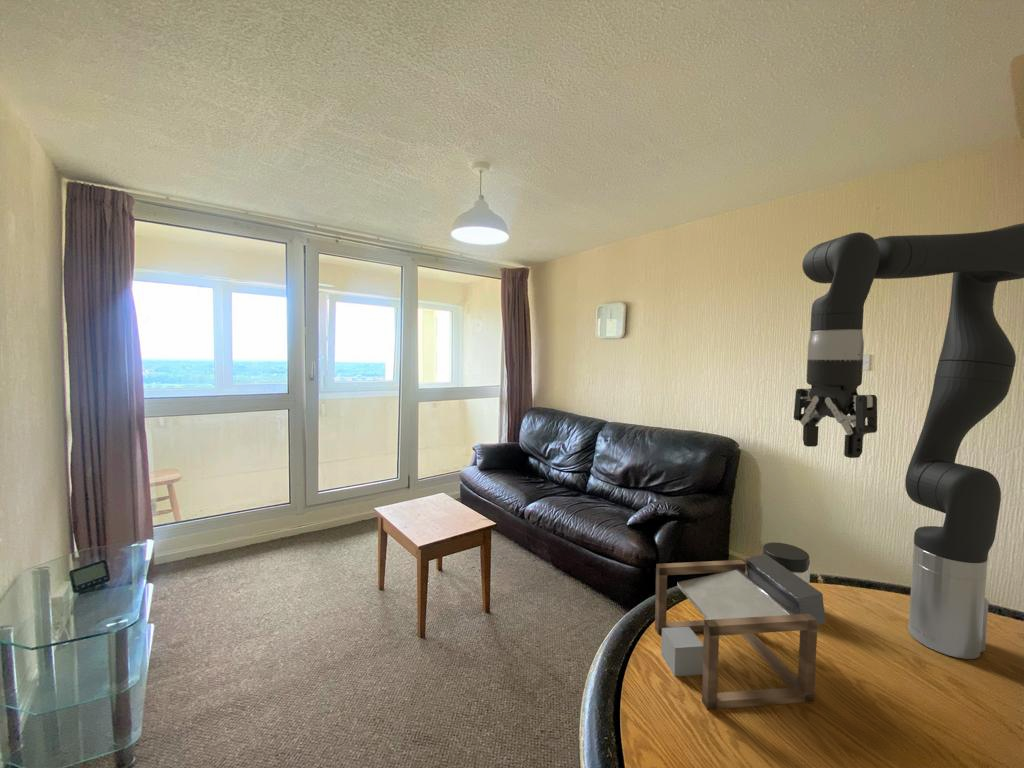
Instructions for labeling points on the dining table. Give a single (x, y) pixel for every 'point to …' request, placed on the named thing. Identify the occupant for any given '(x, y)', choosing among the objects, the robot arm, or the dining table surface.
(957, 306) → the robot arm
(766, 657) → the frame
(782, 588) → the trapdoor
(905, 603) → the dining table surface
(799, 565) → the jar
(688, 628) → the gray cube
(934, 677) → the dining table surface
